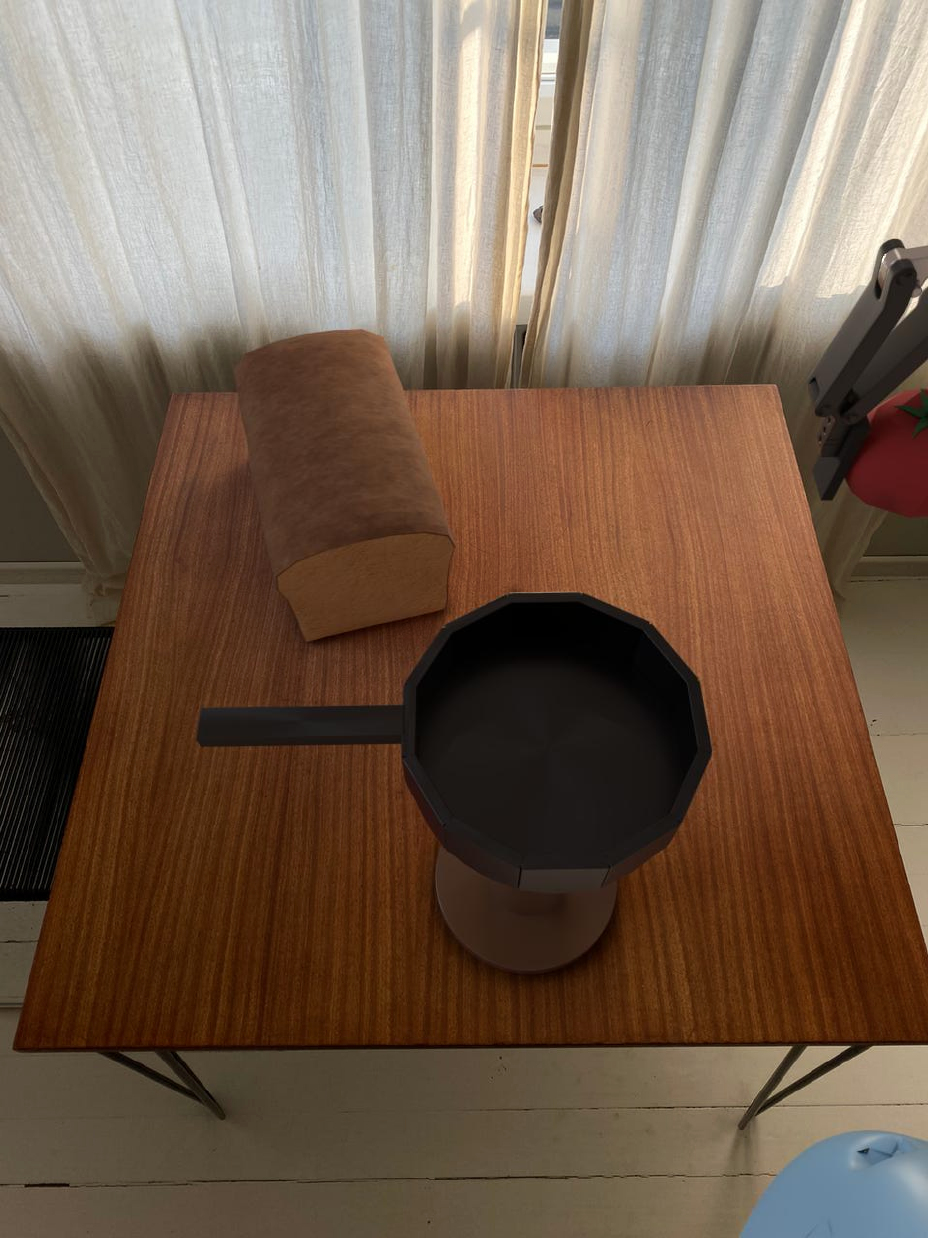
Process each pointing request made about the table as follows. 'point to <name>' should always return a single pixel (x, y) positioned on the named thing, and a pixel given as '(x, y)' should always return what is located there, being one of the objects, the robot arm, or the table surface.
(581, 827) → the pan
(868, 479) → the tomato
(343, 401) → the bread
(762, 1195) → the robot arm
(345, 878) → the table surface
